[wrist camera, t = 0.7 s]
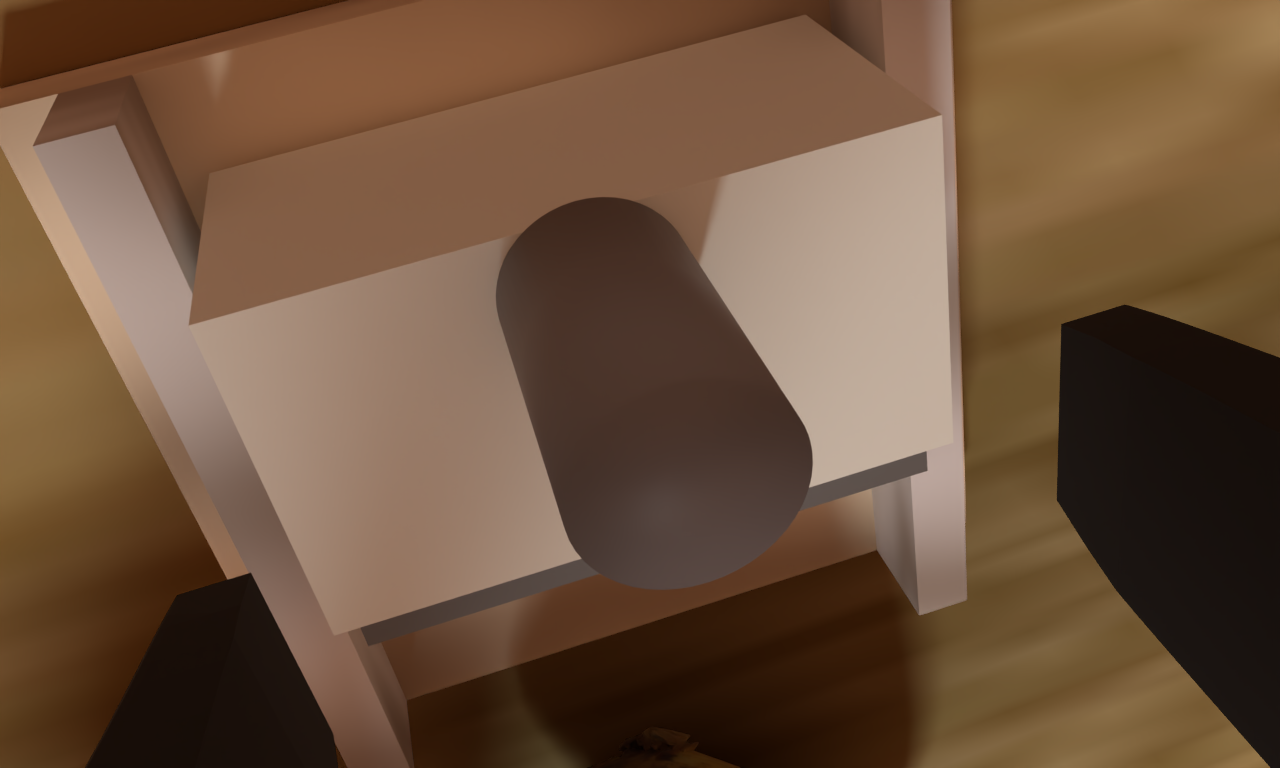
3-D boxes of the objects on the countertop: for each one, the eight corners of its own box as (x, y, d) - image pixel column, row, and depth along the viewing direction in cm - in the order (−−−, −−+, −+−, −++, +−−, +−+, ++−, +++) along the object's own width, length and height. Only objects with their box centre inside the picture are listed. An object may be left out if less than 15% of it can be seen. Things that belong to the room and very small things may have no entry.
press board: (944, 492, 26) (1014, 584, 23) (306, 694, 24) (309, 815, 22) (918, -144, 18) (1017, -110, 16) (-2, 89, 17) (-52, 168, 14)
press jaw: (836, 325, 21) (1111, 672, 14) (336, 474, 20) (364, 926, 13) (804, 1, 18) (1143, 241, 11) (203, 160, 17) (147, 538, 10)
